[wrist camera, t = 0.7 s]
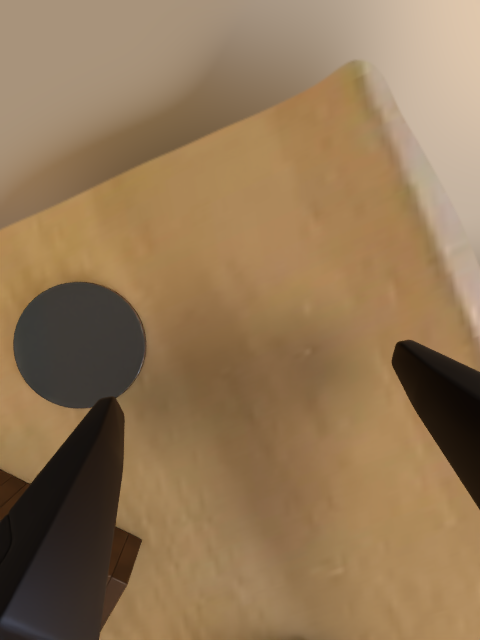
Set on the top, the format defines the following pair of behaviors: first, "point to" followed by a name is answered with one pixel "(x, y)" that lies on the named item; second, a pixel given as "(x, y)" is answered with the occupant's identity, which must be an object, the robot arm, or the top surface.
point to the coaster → (79, 344)
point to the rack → (5, 492)
